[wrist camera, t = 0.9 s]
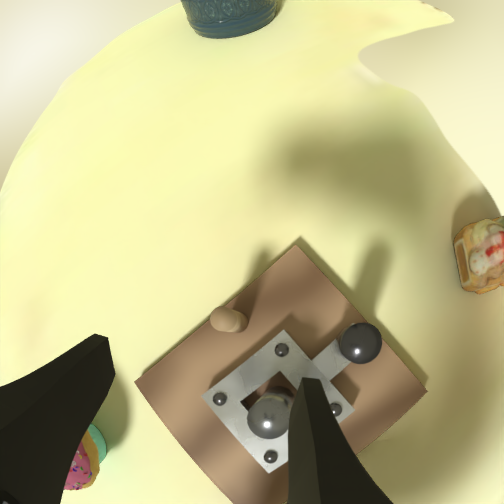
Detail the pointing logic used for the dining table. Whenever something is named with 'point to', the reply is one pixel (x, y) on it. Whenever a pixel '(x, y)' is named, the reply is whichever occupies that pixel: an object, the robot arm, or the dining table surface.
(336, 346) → the flange
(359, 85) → the dining table surface
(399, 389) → the board
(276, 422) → the post
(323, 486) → the robot arm
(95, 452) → the cupcake
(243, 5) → the canister
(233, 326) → the dowel
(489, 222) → the topped waffle
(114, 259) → the dining table surface
